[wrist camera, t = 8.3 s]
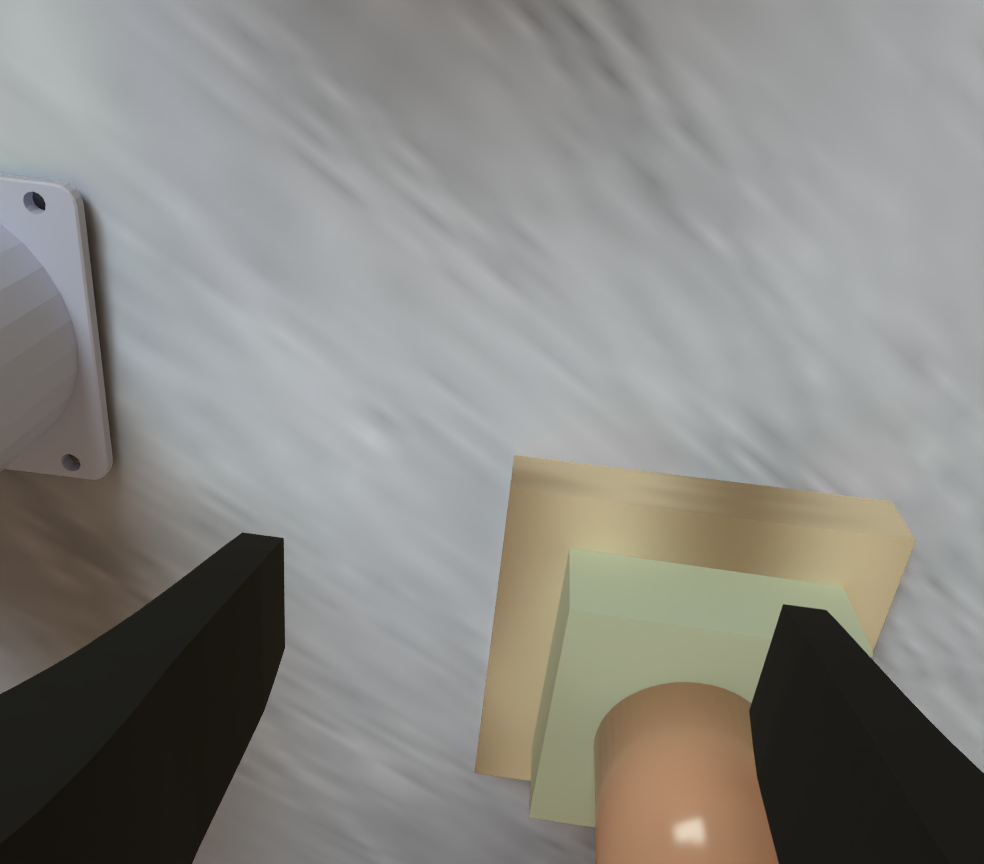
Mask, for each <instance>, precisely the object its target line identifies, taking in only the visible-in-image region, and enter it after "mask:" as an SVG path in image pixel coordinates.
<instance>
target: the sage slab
mask: <svg viewBox="0 0 984 864" xmlns="http://www.w3.org/2000/svg"><path fill="white" fill-rule="evenodd" d="M783 604H786V605H793V606H801V607H808V608H816V609H824V610H827V611H828V612H829V613H830V614H831V615H832V616H833V617H834V618H835V619H836V620H837V621H838V622H839V624H840V625H841V626H842V627H843V628H844V629H845V630H846V631H847V632H848V633H849V634H850V635H851V637H852V638H853V639H854V640H855V641H856V642H857V643H858V644H859V645H860V646H861V648H862V649H863V650H864V651H865V652H866V653H867V654H868V655H869V656H870V658H872V656H873V651H872V649H871V647H870V644H869V642H868V640H867V638H866V636H865V633H864V631H863V629H862V627H861V625H860V623H859V620H858V618H857V616H856V614H855V612H854V609H853V607H852V605H851V603H850V601H849V598H848V596H847V594H846V592H845V590H844V588H843V587H840V586H833V585H826V584H819V583H812V582H805V581H798V580H791V579H784V578H777V577H770V576H763V575H756V574H749V573H742V572H735V571H728V570H720V569H713V568H706V567H699V566H692V565H685V564H678V563H671V562H664V561H657V560H650V559H643V558H636V557H629V556H622V555H615V554H608V553H601V552H594V551H586V550H579V549H572V548H569V554H568V559H567V564H566V569H565V575H564V580H563V585H562V591H561V596H560V601H559V606H558V612H557V617H556V622H555V628H554V633H553V638H552V643H551V649H550V654H549V659H548V665H547V670H546V675H545V680H544V686H543V691H542V696H541V702H540V707H539V712H538V717H537V723H536V728H535V733H534V739H533V744H532V759H531V779H530V800H529V818H534V819H540V820H547V821H554V822H561V823H568V824H574V825H581V826H588V827H595V788H594V739H595V735H596V732H597V729H598V727H599V725H600V723H601V721H602V720H603V718H604V717H605V715H606V714H607V713H608V712H609V711H610V710H611V709H612V708H613V707H614V706H615V705H616V704H618V703H619V702H620V701H621V700H623V699H625V698H626V697H628V696H630V695H631V694H634V693H636V692H638V691H640V690H643V689H646V688H649V687H652V686H656V685H660V684H666V683H674V682H694V683H703V684H709V685H713V686H717V687H720V688H724V689H726V690H729V691H731V692H734V693H736V694H737V695H739V696H741V697H743V698H744V699H746V700H747V701H749V702H750V703H752V700H753V697H754V694H755V691H756V687H757V684H758V681H759V678H760V675H761V672H762V669H763V665H764V662H765V659H766V656H767V653H768V650H769V647H770V643H771V640H772V637H773V634H774V631H775V628H776V625H777V622H778V618H779V615H780V612H781V609H782V606H783Z"/></svg>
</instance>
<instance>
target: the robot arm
mask: <svg viewBox="0 0 984 864" xmlns="http://www.w3.org/2000/svg"><path fill="white" fill-rule="evenodd" d="M33 192H36V193H38V194H40V195H41V196H42V197H43V199H44V201H45V204H46V206H45V210H42V209H39V208H38V207H37V206H36V205H35V204H34V201H33V199H32V196H33ZM68 454H71V455H74V456H75V457H76V458H78V459H79V462H80V464H77V463H74V462H73V461H72V460H71V459H70V457H69V455H68ZM112 466H113V456H112V447H111V439H110V430H109V421H108V412H107V404H106V395H105V386H104V377H103V369H102V360H101V351H100V342H99V334H98V325H97V316H96V307H95V298H94V290H93V281H92V272H91V263H90V255H89V246H88V237H87V228H86V220H85V211H84V204H83V200H82V197H81V195H80V194H79V192H78V191H77V190H76V189H75V188H74V187H73V186H71V185H70V184H69V183H66V182H63V181H58V180H50V179H41V178H33V177H24V176H16V175H8V174H0V472H1V471H2V470H3V469H8V470H16V471H24V472H32V473H40V474H48V475H56V476H64V477H72V478H80V479H88V480H99V479H101V478H103V477H104V476H105V475H106V474H107V473H108V472H109V471H110V470H111V468H112ZM284 649H285V615H284V538H279V537H271V536H264V535H256V534H249V533H241V534H240V535H239V536H237V537H236V538H235V539H233V540H232V541H230V542H229V543H228V544H226V545H225V546H224V547H222V548H221V549H220V550H218V551H217V552H216V553H214V554H213V555H212V556H211V557H209V558H208V559H207V560H205V561H204V562H203V563H201V564H200V565H199V566H198V567H196V568H195V569H194V570H192V571H191V572H190V573H188V574H187V575H186V576H185V577H183V578H182V579H181V580H179V581H178V582H177V583H175V584H174V585H173V586H171V587H170V588H169V589H167V590H166V591H165V592H163V593H162V594H160V595H159V596H158V597H156V598H155V599H154V600H152V601H151V602H150V603H148V604H147V605H145V606H144V607H143V608H141V609H140V610H139V611H137V612H136V613H134V614H133V615H132V616H130V617H129V618H127V619H126V620H124V621H123V622H121V623H120V624H118V625H117V626H115V627H114V628H112V629H111V630H109V631H108V632H106V633H105V634H103V635H102V636H100V637H99V638H97V639H95V640H94V641H92V642H91V643H89V644H88V645H86V646H85V647H83V648H82V649H80V650H78V651H77V652H75V653H74V654H72V655H70V656H69V657H67V658H65V659H64V660H62V661H60V662H58V663H57V664H55V665H53V666H52V667H50V668H48V669H46V670H44V671H43V672H41V673H39V674H37V675H35V676H33V677H32V678H30V679H28V680H26V681H24V682H23V683H21V684H19V685H17V686H15V687H13V688H11V689H9V690H8V691H6V692H4V693H2V694H0V864H192V862H193V860H194V858H195V855H196V853H197V851H198V848H199V846H200V844H201V842H202V840H203V838H204V836H205V834H206V832H207V830H208V828H209V825H210V823H211V821H212V819H213V817H214V815H215V813H216V811H217V809H218V807H219V805H220V803H221V800H222V798H223V796H224V794H225V792H226V790H227V788H228V786H229V784H230V782H231V780H232V778H233V775H234V773H235V771H236V769H237V767H238V765H239V763H240V761H241V759H242V757H243V755H244V752H245V750H246V748H247V746H248V744H249V742H250V740H251V738H252V735H253V733H254V731H255V729H256V727H257V725H258V723H259V721H260V718H261V716H262V714H263V712H264V710H265V707H266V704H267V701H268V698H269V695H270V692H271V689H272V686H273V683H274V680H275V677H276V674H277V671H278V668H279V665H280V661H281V658H282V655H283V652H284ZM749 715H750V724H751V733H752V742H753V751H754V758H755V766H756V773H757V779H758V783H759V788H760V792H761V796H762V800H763V804H764V808H765V812H766V816H767V820H768V824H769V828H770V832H771V835H772V839H773V843H774V847H775V851H776V855H777V858H778V862H779V864H984V773H983V772H982V771H981V770H979V769H978V768H977V767H976V766H975V765H974V764H973V763H972V762H971V761H970V760H969V759H968V758H967V757H966V756H965V755H964V754H963V753H962V752H961V751H960V750H958V749H957V748H956V747H955V746H954V745H953V744H952V743H951V742H950V741H949V740H948V739H947V738H946V737H945V736H944V735H943V734H942V733H941V732H940V731H939V730H938V729H937V728H936V727H935V726H934V725H933V724H932V723H931V722H930V721H929V720H928V719H927V718H926V717H925V716H924V715H923V713H922V712H921V711H920V710H919V709H918V708H917V707H916V706H915V705H914V704H913V703H912V702H911V701H910V700H909V699H908V698H907V697H906V696H905V695H904V694H903V692H902V691H901V690H900V689H899V688H898V687H897V686H896V685H895V684H894V683H893V682H892V681H891V679H890V678H889V677H888V676H887V675H886V674H885V673H884V672H883V671H882V670H881V669H880V667H879V666H878V665H877V664H876V663H875V662H874V661H873V660H872V659H871V658H870V656H869V655H868V654H867V653H866V652H865V651H864V650H863V649H862V648H861V646H860V645H859V644H858V643H857V642H856V641H855V640H854V639H853V638H852V637H851V635H850V634H849V633H848V632H847V631H846V630H845V629H844V628H843V627H842V626H841V625H840V624H839V622H838V621H837V620H836V619H835V618H834V617H833V616H832V615H831V614H830V613H829V612H828V611H827V610H824V609H816V608H808V607H801V606H793V605H786V604H783V606H782V609H781V612H780V615H779V618H778V622H777V625H776V628H775V631H774V634H773V637H772V640H771V643H770V647H769V650H768V653H767V656H766V659H765V662H764V665H763V669H762V672H761V675H760V678H759V681H758V684H757V687H756V691H755V694H754V697H753V700H752V703H751V706H750V709H749Z"/></svg>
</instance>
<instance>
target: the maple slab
mask: <svg viewBox="0 0 984 864" xmlns="http://www.w3.org/2000/svg"><path fill="white" fill-rule="evenodd" d="M915 541H916V540H915V538H914V537H913V535H912V533H911V532H910V530H909V529H908V527H907V525H906V524H905V522H904V520H903V519H902V517H901V516H900V514H899V512H898V511H897V509H896V508H895V506H894V504H893V503H892V501H885V500H877V499H868V498H860V497H852V496H844V495H836V494H827V493H819V492H811V491H803V490H795V489H786V488H778V487H770V486H762V485H754V484H745V483H737V482H729V481H721V480H713V479H704V478H696V477H688V476H680V475H672V474H663V473H655V472H647V471H639V470H631V469H623V468H614V467H606V466H598V465H590V464H582V463H573V462H565V461H557V460H549V459H541V458H532V457H524V456H516V455H514V462H513V470H512V478H511V486H510V494H509V502H508V510H507V518H506V526H505V534H504V542H503V550H502V558H501V566H500V574H499V582H498V590H497V598H496V606H495V614H494V622H493V630H492V638H491V646H490V654H489V662H488V670H487V678H486V686H485V694H484V702H483V710H482V718H481V726H480V734H479V742H478V751H477V759H476V767H475V773H476V774H484V775H491V776H499V777H506V778H513V779H521V780H528V781H530V779H531V759H532V744H533V739H534V733H535V728H536V723H537V717H538V712H539V707H540V702H541V696H542V691H543V686H544V680H545V675H546V670H547V665H548V659H549V654H550V649H551V643H552V638H553V633H554V628H555V622H556V617H557V612H558V606H559V601H560V596H561V591H562V585H563V580H564V575H565V569H566V564H567V559H568V554H569V548H572V549H579V550H586V551H594V552H601V553H608V554H615V555H622V556H629V557H636V558H643V559H650V560H657V561H664V562H671V563H678V564H685V565H692V566H699V567H706V568H713V569H720V570H728V571H735V572H742V573H749V574H756V575H763V576H770V577H777V578H784V579H791V580H798V581H805V582H812V583H819V584H826V585H833V586H840V587H843V588H844V590H845V592H846V594H847V596H848V598H849V601H850V603H851V605H852V607H853V609H854V612H855V614H856V616H857V618H858V620H859V623H860V625H861V627H862V629H863V631H864V633H865V636H866V638H867V640H868V642H869V644H870V647H871V649H872V651H873V650H874V647H875V645H876V642H877V639H878V637H879V634H880V632H881V629H882V627H883V624H884V621H885V619H886V616H887V614H888V611H889V608H890V606H891V603H892V601H893V598H894V595H895V593H896V590H897V588H898V585H899V583H900V580H901V577H902V575H903V572H904V570H905V567H906V564H907V562H908V559H909V557H910V554H911V552H912V549H913V546H914V544H915Z"/></svg>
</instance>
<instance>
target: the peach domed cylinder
mask: <svg viewBox="0 0 984 864" xmlns="http://www.w3.org/2000/svg"><path fill="white" fill-rule="evenodd" d="M750 706H751V703H750V702H749V701H747V700H746V699H744V698H743V697H741V696H739V695H737V694H736V693H734V692H731V691H729V690H726V689H724V688H720V687H717V686H713V685H709V684H703V683H694V682H674V683H666V684H660V685H656V686H652V687H649V688H646V689H643V690H640V691H638V692H636V693H634V694H631V695H630V696H628V697H626V698H625V699H623V700H621V701H620V702H619V703H618V704H616V705H615V706H614V707H613V708H612V709H611V710H610V711H609V712H608V713H607V714H606V715H605V717H604V718H603V720H602V721H601V723H600V725H599V727H598V729H597V732H596V735H595V739H594V788H595V833H596V864H779V862H778V858H777V855H776V851H775V847H774V843H773V839H772V835H771V832H770V828H769V824H768V820H767V816H766V812H765V808H764V804H763V800H762V796H761V792H760V788H759V783H758V779H757V773H756V766H755V758H754V751H753V742H752V733H751V724H750V715H749V709H750Z"/></svg>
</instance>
